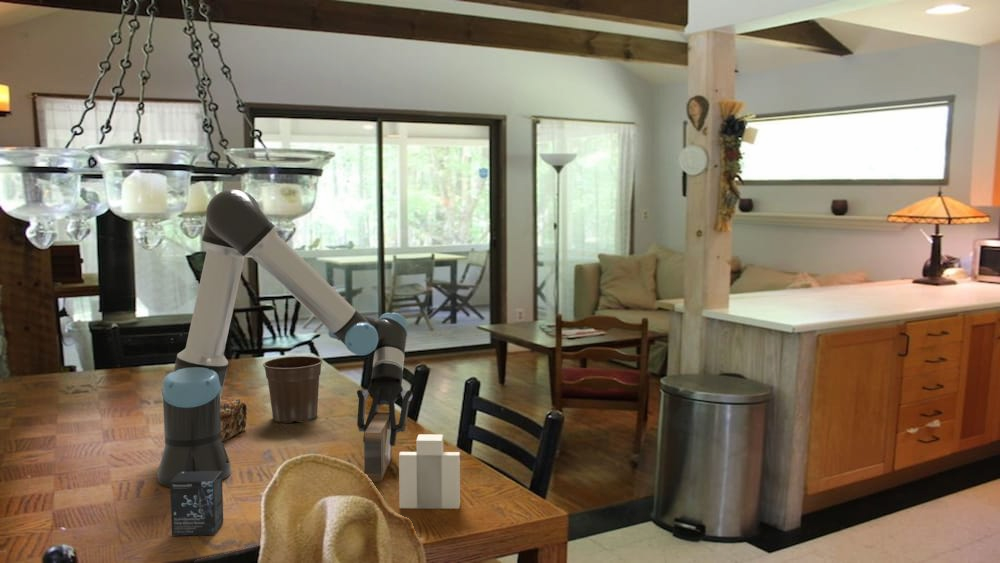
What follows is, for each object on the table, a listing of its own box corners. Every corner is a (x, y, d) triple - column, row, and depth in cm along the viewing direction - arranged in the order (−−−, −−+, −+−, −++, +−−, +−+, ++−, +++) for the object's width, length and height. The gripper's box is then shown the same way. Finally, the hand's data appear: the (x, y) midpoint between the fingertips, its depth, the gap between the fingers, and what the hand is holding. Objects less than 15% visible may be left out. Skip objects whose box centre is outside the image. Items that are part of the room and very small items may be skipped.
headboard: (459, 508, 155) (459, 440, 153) (399, 508, 155) (398, 440, 153) (461, 493, 163) (461, 428, 161) (404, 493, 163) (404, 428, 161)
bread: (205, 452, 189) (204, 412, 188) (168, 448, 192) (166, 409, 191) (249, 429, 207) (248, 393, 206) (214, 426, 210) (213, 390, 208)
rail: (381, 481, 169) (380, 432, 168) (364, 481, 169) (363, 432, 168) (392, 457, 185) (391, 412, 184) (376, 457, 185) (376, 412, 184)
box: (171, 537, 141) (169, 481, 140) (182, 524, 147) (180, 470, 146) (215, 536, 142) (213, 480, 141) (224, 523, 147) (222, 469, 146)
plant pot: (252, 422, 213) (250, 364, 212) (288, 407, 228) (286, 353, 227) (301, 428, 208) (299, 369, 206) (335, 413, 222) (334, 358, 221)
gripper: (422, 378, 192) (415, 465, 178) (356, 377, 193) (343, 464, 178) (420, 361, 187) (412, 450, 172) (351, 361, 187) (338, 450, 172)
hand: (377, 457), depth 175 cm, fingers closed on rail, 3 cm apart
